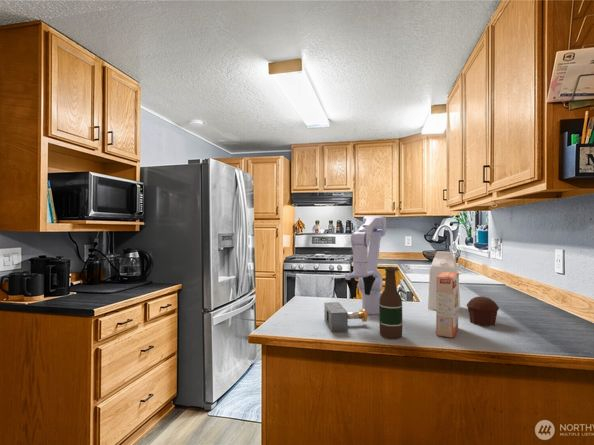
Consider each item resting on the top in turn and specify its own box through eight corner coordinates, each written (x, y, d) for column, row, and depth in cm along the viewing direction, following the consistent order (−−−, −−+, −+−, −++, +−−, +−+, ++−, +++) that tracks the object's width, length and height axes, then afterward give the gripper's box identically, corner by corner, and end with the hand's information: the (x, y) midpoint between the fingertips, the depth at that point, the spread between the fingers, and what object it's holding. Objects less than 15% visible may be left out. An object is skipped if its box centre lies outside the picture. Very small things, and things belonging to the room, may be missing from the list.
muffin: (503, 328, 128) (503, 301, 128) (471, 326, 130) (471, 300, 130) (493, 319, 139) (493, 294, 139) (463, 318, 142) (463, 293, 142)
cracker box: (454, 339, 117) (454, 277, 117) (435, 336, 120) (435, 276, 120) (459, 328, 129) (459, 272, 129) (442, 325, 132) (442, 271, 132)
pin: (363, 319, 137) (363, 307, 137) (367, 323, 132) (367, 310, 132) (338, 320, 136) (337, 308, 136) (340, 324, 131) (340, 311, 131)
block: (338, 319, 141) (338, 302, 141) (347, 331, 126) (347, 312, 126) (324, 319, 141) (324, 302, 141) (331, 332, 125) (331, 312, 125)
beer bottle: (402, 333, 123) (402, 266, 123) (402, 340, 116) (401, 269, 116) (380, 331, 126) (380, 265, 126) (378, 338, 118) (377, 268, 118)
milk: (460, 306, 160) (459, 251, 160) (456, 312, 151) (456, 253, 150) (433, 303, 167) (432, 250, 167) (427, 308, 157) (427, 252, 157)
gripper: (366, 259, 145) (366, 292, 145) (340, 262, 137) (340, 296, 137) (378, 261, 139) (378, 294, 139) (352, 264, 131) (352, 299, 131)
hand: (360, 295), depth 138 cm, fingers open, 7 cm apart
